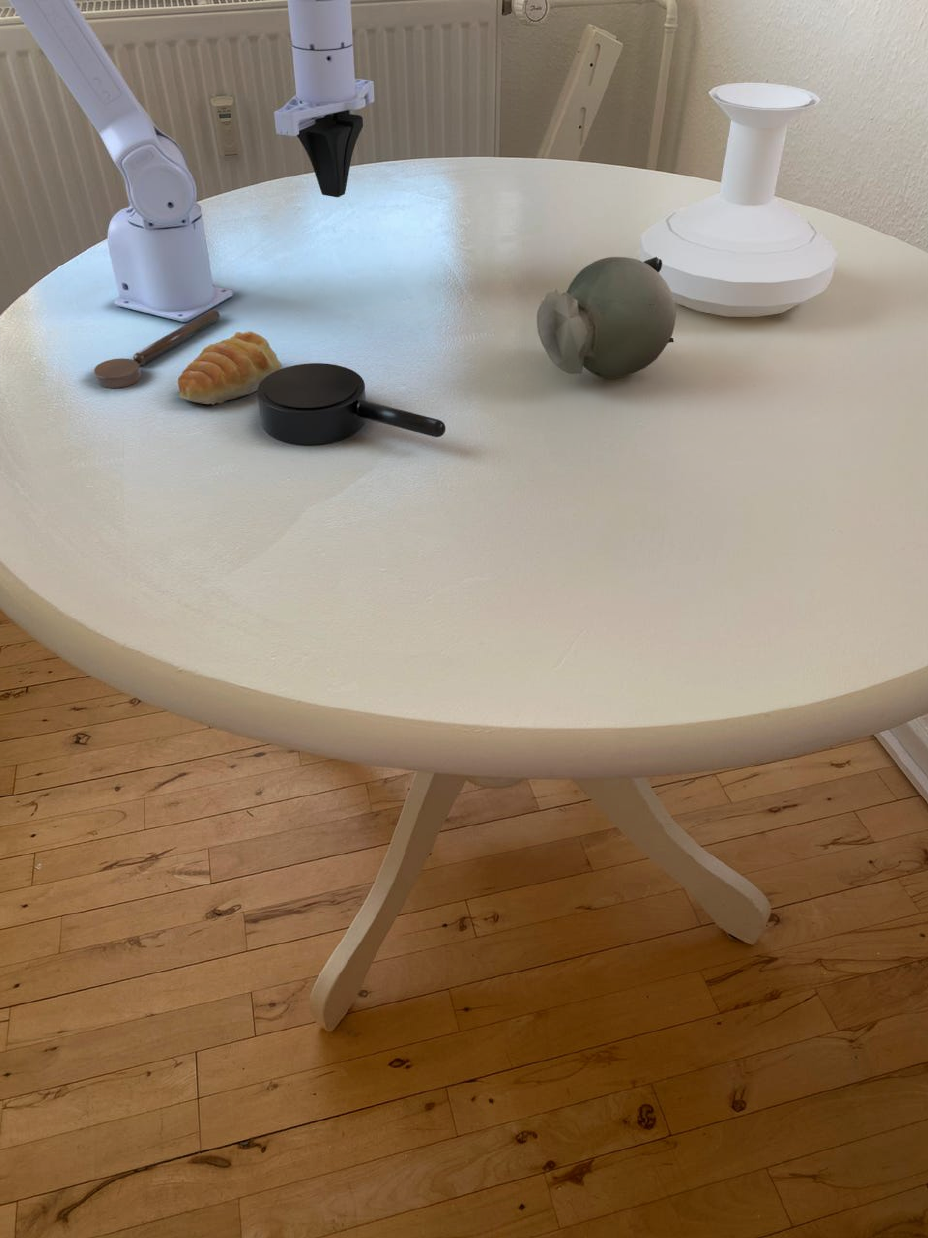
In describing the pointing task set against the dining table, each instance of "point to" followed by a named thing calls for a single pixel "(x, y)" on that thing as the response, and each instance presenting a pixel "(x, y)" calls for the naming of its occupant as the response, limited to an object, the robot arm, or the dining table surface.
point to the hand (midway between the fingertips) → (333, 194)
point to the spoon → (148, 354)
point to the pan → (326, 406)
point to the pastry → (228, 369)
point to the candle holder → (745, 219)
